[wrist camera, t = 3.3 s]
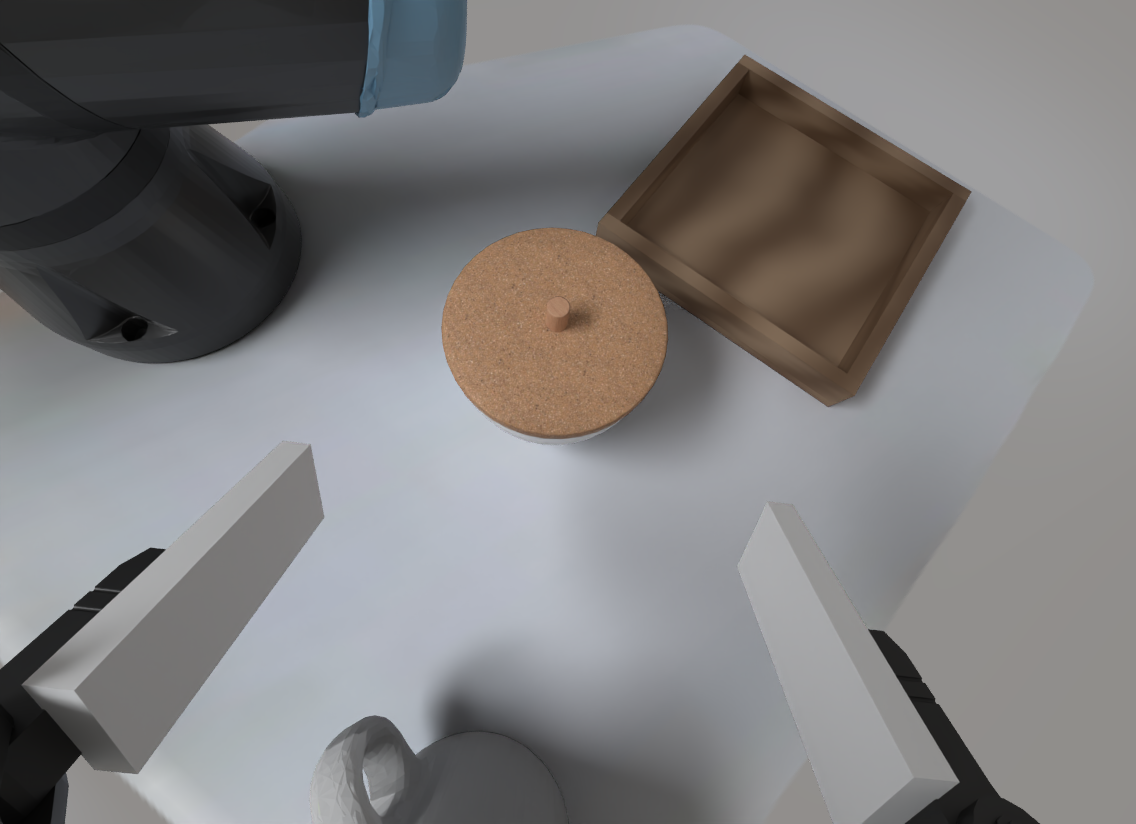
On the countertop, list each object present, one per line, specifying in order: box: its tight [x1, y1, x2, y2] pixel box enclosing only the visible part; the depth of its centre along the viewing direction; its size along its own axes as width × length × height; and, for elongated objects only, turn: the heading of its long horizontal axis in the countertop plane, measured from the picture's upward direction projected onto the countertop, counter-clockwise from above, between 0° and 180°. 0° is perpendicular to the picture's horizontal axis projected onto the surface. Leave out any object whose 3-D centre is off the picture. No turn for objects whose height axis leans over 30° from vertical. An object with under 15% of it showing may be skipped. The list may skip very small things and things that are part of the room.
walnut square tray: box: [596, 55, 971, 407], centre depth 31 cm, size 19×19×2 cm
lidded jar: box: [442, 228, 668, 445], centre depth 24 cm, size 11×11×9 cm
